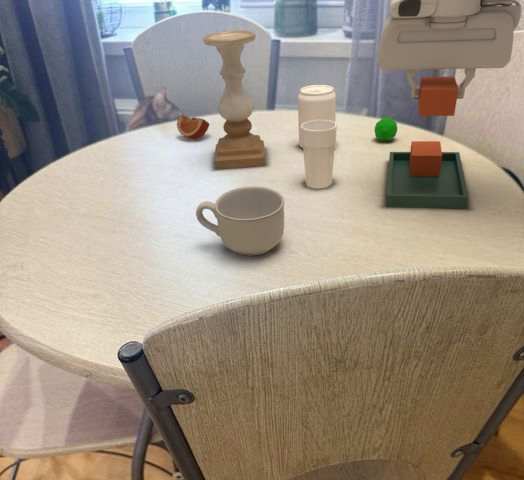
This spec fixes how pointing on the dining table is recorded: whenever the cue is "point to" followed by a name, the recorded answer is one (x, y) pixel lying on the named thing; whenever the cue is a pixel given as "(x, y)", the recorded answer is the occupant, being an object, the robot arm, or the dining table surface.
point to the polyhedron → (386, 129)
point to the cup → (318, 152)
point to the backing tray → (426, 184)
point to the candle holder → (235, 105)
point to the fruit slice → (192, 127)
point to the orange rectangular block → (425, 158)
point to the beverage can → (316, 105)
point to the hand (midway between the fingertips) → (436, 98)
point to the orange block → (437, 96)
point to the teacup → (247, 219)
